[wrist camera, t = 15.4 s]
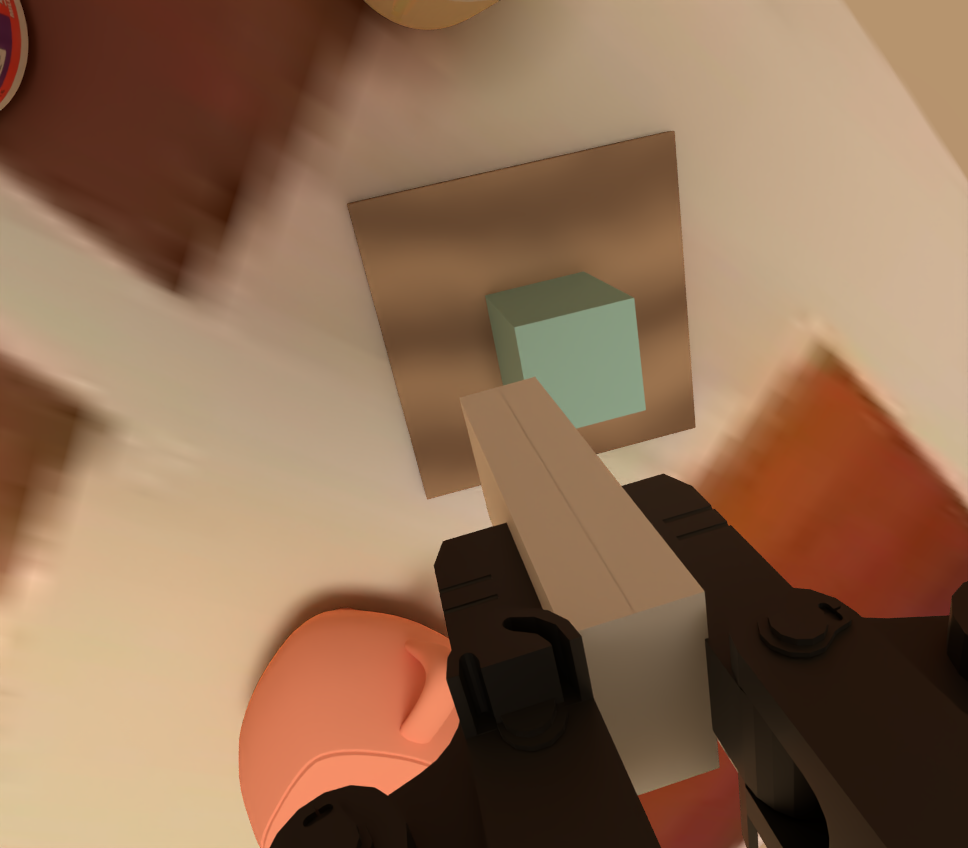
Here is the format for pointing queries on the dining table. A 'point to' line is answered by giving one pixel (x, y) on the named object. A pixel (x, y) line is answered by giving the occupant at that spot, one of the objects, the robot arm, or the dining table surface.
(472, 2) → the coffee cup
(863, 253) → the dining table surface
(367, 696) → the teapot
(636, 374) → the teal green block
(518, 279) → the post stand
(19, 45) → the pill bottle
